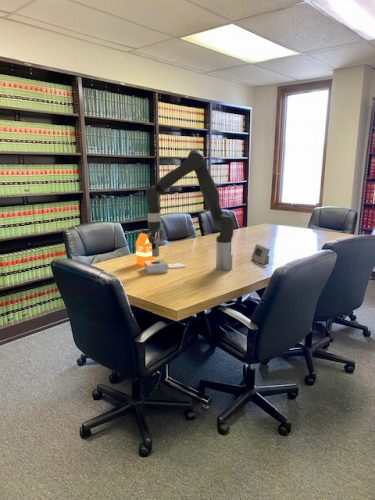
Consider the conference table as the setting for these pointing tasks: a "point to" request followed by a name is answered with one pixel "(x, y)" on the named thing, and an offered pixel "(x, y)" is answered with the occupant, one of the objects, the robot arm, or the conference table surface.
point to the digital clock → (260, 254)
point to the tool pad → (176, 266)
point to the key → (156, 248)
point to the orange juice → (143, 249)
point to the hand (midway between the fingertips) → (155, 248)
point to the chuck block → (155, 266)
